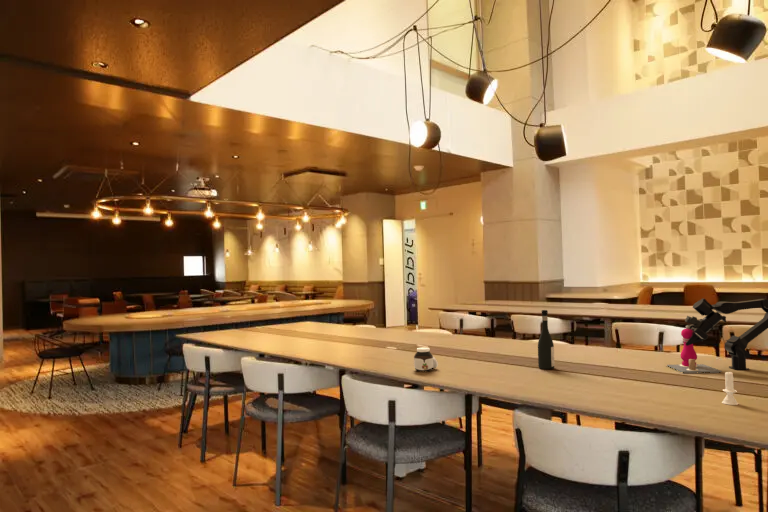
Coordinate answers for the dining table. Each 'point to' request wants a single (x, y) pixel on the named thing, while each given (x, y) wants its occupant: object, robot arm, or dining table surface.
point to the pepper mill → (687, 347)
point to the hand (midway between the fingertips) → (684, 343)
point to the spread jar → (424, 360)
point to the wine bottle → (545, 345)
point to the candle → (729, 389)
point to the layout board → (700, 367)
